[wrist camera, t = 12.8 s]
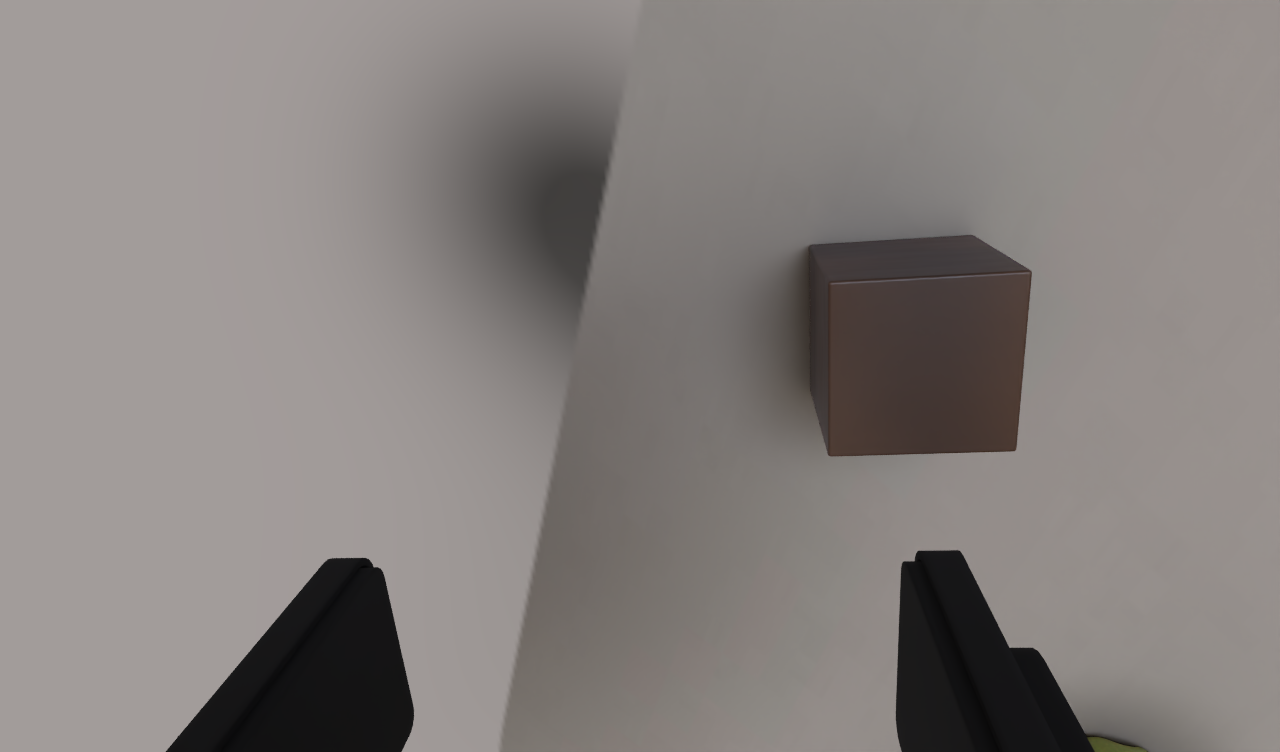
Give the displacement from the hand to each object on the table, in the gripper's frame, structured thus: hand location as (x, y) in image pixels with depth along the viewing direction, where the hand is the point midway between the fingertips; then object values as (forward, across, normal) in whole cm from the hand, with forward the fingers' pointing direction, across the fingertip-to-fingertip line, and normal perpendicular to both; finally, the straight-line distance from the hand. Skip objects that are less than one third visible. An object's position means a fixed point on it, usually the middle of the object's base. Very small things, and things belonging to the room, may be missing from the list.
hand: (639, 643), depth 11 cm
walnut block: (+16, -6, 0) cm, 17 cm away
